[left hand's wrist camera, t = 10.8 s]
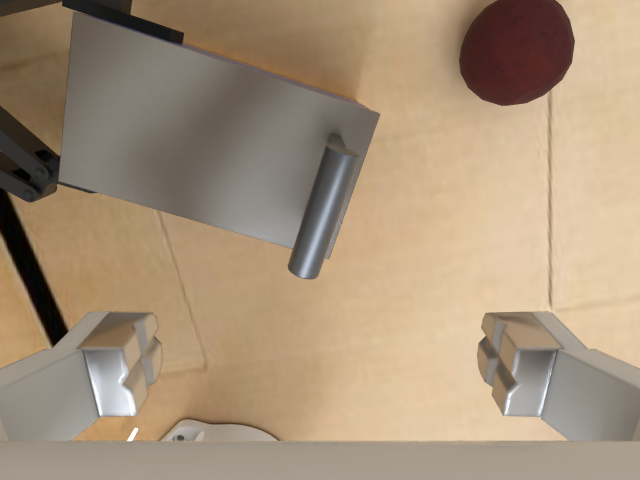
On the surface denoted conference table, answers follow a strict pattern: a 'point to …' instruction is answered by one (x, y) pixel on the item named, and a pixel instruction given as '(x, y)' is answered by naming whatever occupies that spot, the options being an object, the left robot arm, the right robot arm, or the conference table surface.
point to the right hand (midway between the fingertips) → (163, 116)
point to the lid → (210, 140)
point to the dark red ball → (517, 50)
